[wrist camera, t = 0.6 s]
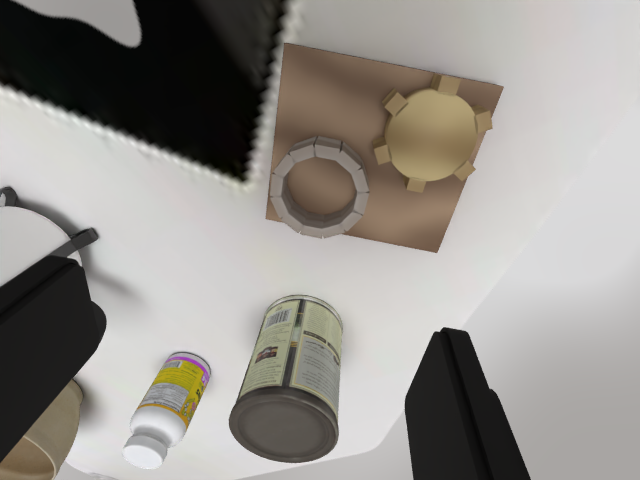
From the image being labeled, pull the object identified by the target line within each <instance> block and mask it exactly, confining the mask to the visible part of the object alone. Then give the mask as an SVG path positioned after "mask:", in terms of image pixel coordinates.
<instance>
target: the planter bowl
mask: <svg viewBox="0 0 640 480" xmlns="http://www.w3.org/2000/svg"><path fill="white" fill-rule="evenodd" d="M82 400H83V394H82V391H81V389H80V387H79V386H78V385H77V384H76V383H75V382H74V381H73V380H71V381H70V382H69V383H68V384H67V385H66V387H65V388H64V389H63V390H62V391H61V392H60V394H59V395H58V396H57V397H56V398H55V400H54V401H53V402H52V403H51V404H50V405H49V407H48V408H47V409H46V410H45V411H44V412H43V414H42V415H41V416H40V417H39V418H38V419H37V421H36V422H35V423H34V424H33V425H32V427H31V428H30V429H29V430H28V431H27V432H26V434H25V435H24V436H23V437H22V438H21V439H20V441H19V442H18V443H17V444H16V445H15V447H14V448H13V449H12V450H11V451H10V452H9V454H8V455H7V456H6V457H5V458H4V459H3V461H2V462H1V463H0V480H54V478H55V477H56V475H57V473H58V471H59V469H60V467H61V465H62V463H63V462H64V460H65V458H66V457H67V455H68V453H69V451H70V449H71V447H72V445H73V442H74V440H75V437H76V434H77V430H78V425H79V417H80V408H79V406H80V404H81V402H82Z"/></svg>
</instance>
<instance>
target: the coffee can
mask: <svg viewBox="0 0 640 480" xmlns="http://www.w3.org/2000/svg"><path fill="white" fill-rule="evenodd" d="M342 330H343V327H342V322H341V319H340V317H339V315H338V314H337V312H336V311H335V310H334V309H333V308H332V307H331V306H329V305H328V304H326V303H325V302H323V301H321V300H319V299H316V298H313V297H310V296H303V295H295V296H289V297H285V298H282V299H280V300H278V301H276V302H275V303H273V304H272V305H271V306H270V307H269V308H268V309H267V311H266V313H265V316H264V320H263V323H262V326H261V329H260V332H259V335H258V338H257V341H256V344H255V347H254V350H253V353H252V356H251V359H250V362H249V365H248V368H247V371H246V374H245V377H244V380H243V383H242V386H241V389H240V392H239V395H238V398H237V401H236V404H235V405H234V407H233V409H232V411H231V414H230V417H229V428H230V430H231V433H232V434H233V436H234V438H235V439H236V440H237V441H238V442H239V443H240V444H241V445H242V446H243V447H244V448H246V449H247V450H249V451H250V452H252V453H254V454H256V455H258V456H261V457H263V458H266V459H269V460H273V461H278V462H286V463H302V462H309V461H313V460H316V459H319V458H321V457H323V456H325V455H327V454H328V453H329V452H330V451H332V449H333V448H334V447H335V445H336V444H337V441H338V435H339V431H338V404H339V382H340V360H341V338H342Z"/></svg>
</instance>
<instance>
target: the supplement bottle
mask: <svg viewBox="0 0 640 480" xmlns="http://www.w3.org/2000/svg"><path fill="white" fill-rule="evenodd" d="M209 378H210V370H209V367H208V365H207V364H206V363H205V362H204V361H203V360H202V359H201V358H199V357H197V356H195V355H192V354H188V353H178V354H174V355H172V356H170V357H169V358H168V359H167V360H166V362H165V363H164V365H163V367H162V368H161V370H160V372H159V373H158V375H157V377H156V378H155V380H154V382H153V383H152V385H151V386H150V388H149V390H148V391H147V393H146V395H145V396H144V398H143V400H142V401H141V403H140V405H139V406H138V408H137V410H136V411H135V413H134V414H133V416H132V418H131V421H130V430H131V433H132V434H133V436H131V437H130V438H129V439H128V441H127V443H126V444H125V446H124V448H123V450H122V455H123V457H124V458H125V460H127V461H128V462H129V463H131V464H132V465H134V466H137V467H140V468H145V469H155V468H158V467H160V466H161V465H162V463H163V461H164V459H165V457H166V455H167V448H171V447H173V446H175V445H177V444H178V443H179V442H180V441H181V440H182V439H183V437H184V435H185V433H186V431H187V428H188V426H189V424H190V421H191V419H192V417H193V415H194V412H195V410H196V408H197V406H198V404H199V401H200V399H201V397H202V395H203V392H204V390H205V388H206V385H207V383H208V381H209Z"/></svg>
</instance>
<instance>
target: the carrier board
mask: <svg viewBox="0 0 640 480" xmlns="http://www.w3.org/2000/svg"><path fill="white" fill-rule="evenodd" d="M503 88H504V87H503V86H499V85H495V84H490V83H485V82H480V81H475V80H470V79H465V78H460V77H455V76H450V75H445V74H440V73H435V72H430V71H425V70H420V69H415V68H410V67H405V66H400V65H395V64H390V63H384V62H379V61H374V60H369V59H364V58H359V57H354V56H349V55H344V54H339V53H334V52H329V51H324V50H319V49H314V48H309V47H304V46H299V45H294V44H289V43H284V52H283V61H282V70H281V80H280V89H279V99H278V108H277V117H276V127H275V136H274V146H273V155H272V164H271V174H270V183H269V193H268V202H267V211H266V219H269V220H274V221H279V222H284V223H285V224H287V225H288V226H289V227H291V228H292V229H293V230H295V231H296V232H297V233H299V232H300V231H301V232H300V234H302V235H307V236H312V237H317V238H322V236H323V237H324V238H328V237H331V236H335V235H338V234H344V235H349V236H354V237H359V238H364V239H369V240H374V241H379V242H384V243H389V244H394V245H400V246H405V247H410V248H415V249H420V250H425V251H430V252H435V253H437V252H438V250H439V247H440V245H441V242H442V240H443V237H444V235H445V232H446V230H447V227H448V225H449V222H450V220H451V217H452V215H453V212H454V210H455V207H456V205H457V202H458V200H459V198H460V195H461V193H462V190H463V188H464V185H465V183H466V180H467V178H468V176H469V175H470V174H471V173H472V172H473V171H475V170H476V169H475V168H474V167H473V166H472V165H473V163H474V160H475V158H476V155H477V153H478V150H479V148H480V145H481V143H482V140H483V138H484V135H485V133H486V131H487V130H490V129H493V128H492V121H491V118H492V115H493V113H494V110H495V108H496V105H497V103H498V100H499V98H500V95H501V93H502V90H503Z"/></svg>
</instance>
